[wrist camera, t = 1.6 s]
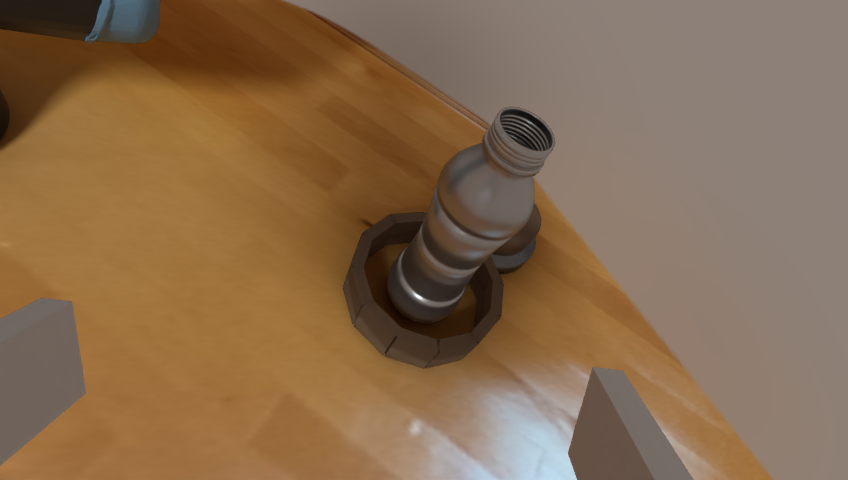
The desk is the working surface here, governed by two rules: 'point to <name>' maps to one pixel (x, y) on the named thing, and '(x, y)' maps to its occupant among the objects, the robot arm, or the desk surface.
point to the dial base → (513, 259)
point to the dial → (410, 343)
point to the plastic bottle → (470, 215)
